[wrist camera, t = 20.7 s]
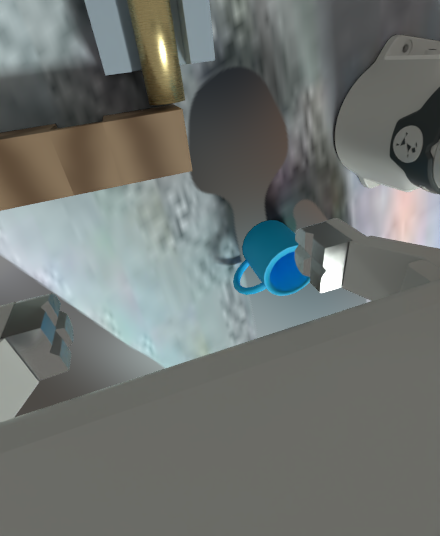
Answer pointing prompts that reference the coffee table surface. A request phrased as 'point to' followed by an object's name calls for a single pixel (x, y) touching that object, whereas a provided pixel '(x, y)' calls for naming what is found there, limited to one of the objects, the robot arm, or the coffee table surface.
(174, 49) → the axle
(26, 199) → the beam
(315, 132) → the coffee table surface
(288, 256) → the mug
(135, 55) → the cradle
